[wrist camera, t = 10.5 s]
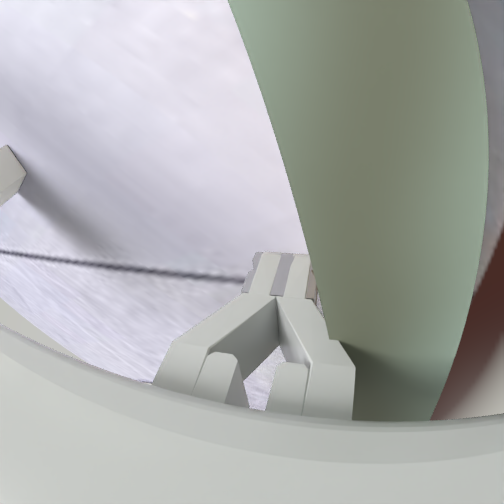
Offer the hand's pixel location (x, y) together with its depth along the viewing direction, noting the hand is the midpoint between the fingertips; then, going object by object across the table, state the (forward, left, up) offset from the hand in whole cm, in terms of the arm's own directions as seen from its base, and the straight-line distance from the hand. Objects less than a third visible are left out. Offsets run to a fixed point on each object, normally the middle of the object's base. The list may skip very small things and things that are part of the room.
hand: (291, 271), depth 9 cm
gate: (+1, -3, -5) cm, 6 cm away
